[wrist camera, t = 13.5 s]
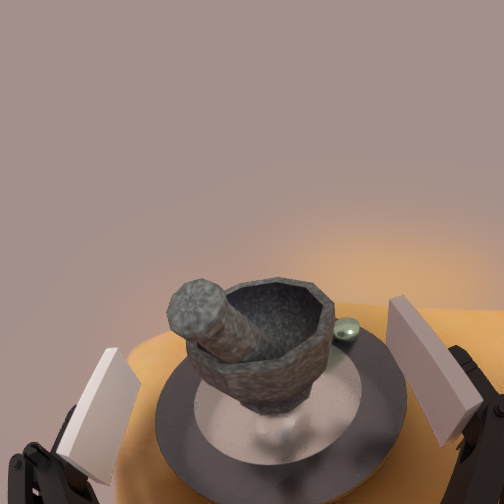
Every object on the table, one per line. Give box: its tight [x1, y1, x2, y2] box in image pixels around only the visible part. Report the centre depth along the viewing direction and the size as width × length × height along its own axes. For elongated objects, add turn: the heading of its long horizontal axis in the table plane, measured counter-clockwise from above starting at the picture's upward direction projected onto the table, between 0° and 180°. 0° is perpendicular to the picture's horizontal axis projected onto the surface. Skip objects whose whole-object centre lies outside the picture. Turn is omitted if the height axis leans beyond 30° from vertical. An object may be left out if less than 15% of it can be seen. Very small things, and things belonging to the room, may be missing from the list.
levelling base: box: [155, 318, 407, 504], centre depth 20 cm, size 20×20×4 cm
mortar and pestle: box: [166, 277, 335, 415], centre depth 17 cm, size 11×9×12 cm
